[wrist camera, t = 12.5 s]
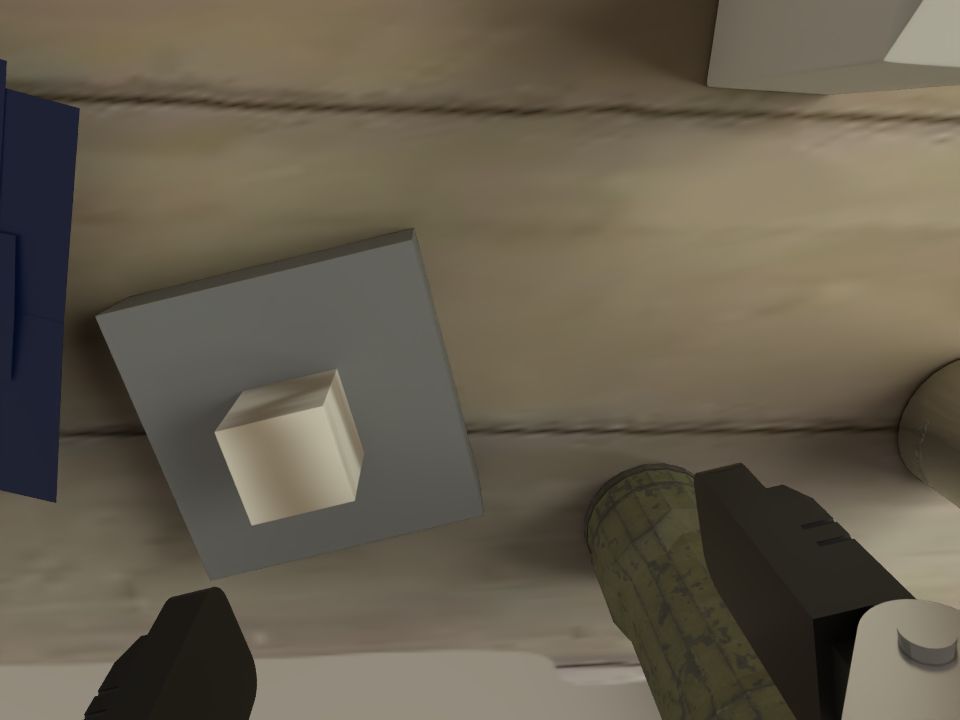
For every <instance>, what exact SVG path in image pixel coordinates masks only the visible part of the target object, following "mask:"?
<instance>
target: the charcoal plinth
mask: <svg viewBox="0 0 960 720" xmlns="http://www.w3.org/2000/svg"><path fill="white" fill-rule="evenodd" d="M95 317H96V320H97V322H98V324H99V326H100V329H101V331H102V333H103V336H104V338H105V340H106V342H107V345H108V347H109V349H110V352H111V354H112V356H113V359H114V361H115V363H116V365H117V368H118V370H119V372H120V375H121V377H122V379H123V381H124V384H125V386H126V388H127V391H128V393H129V395H130V398H131V400H132V402H133V404H134V407H135V409H136V411H137V414H138V416H139V418H140V420H141V423H142V425H143V427H144V430H145V432H146V434H147V437H148V439H149V441H150V443H151V446H152V448H153V450H154V453H155V455H156V457H157V459H158V462H159V464H160V466H161V469H162V471H163V473H164V475H165V478H166V480H167V482H168V485H169V487H170V489H171V492H172V494H173V496H174V498H175V501H176V503H177V505H178V508H179V510H180V512H181V514H182V517H183V519H184V521H185V524H186V526H187V528H188V531H189V533H190V535H191V537H192V540H193V542H194V544H195V547H196V549H197V551H198V553H199V556H200V558H201V560H202V563H203V565H204V567H205V569H206V572H207V574H208V576H209V579H210V581H211V580H215V579H219V578H223V577H227V576H232V575H236V574H240V573H244V572H248V571H253V570H257V569H261V568H265V567H269V566H274V565H278V564H282V563H286V562H290V561H295V560H299V559H303V558H307V557H311V556H316V555H320V554H324V553H328V552H332V551H337V550H341V549H345V548H349V547H353V546H358V545H362V544H366V543H370V542H374V541H379V540H383V539H387V538H391V537H395V536H400V535H404V534H408V533H412V532H416V531H421V530H425V529H429V528H433V527H437V526H442V525H446V524H450V523H454V522H458V521H463V520H467V519H471V518H475V517H479V516H484V509H483V502H482V495H481V488H480V481H479V477H478V473H477V469H476V466H475V462H474V458H473V454H472V450H471V446H470V442H469V439H468V435H467V431H466V427H465V423H464V419H463V415H462V412H461V408H460V404H459V400H458V396H457V392H456V388H455V385H454V381H453V377H452V373H451V369H450V365H449V362H448V358H447V354H446V350H445V346H444V342H443V338H442V335H441V331H440V327H439V323H438V319H437V315H436V311H435V308H434V304H433V300H432V296H431V292H430V288H429V284H428V281H427V277H426V273H425V269H424V265H423V261H422V257H421V254H420V250H419V246H418V242H417V238H416V234H415V231H414V228H412V229H408V230H404V231H400V232H396V233H391V234H387V235H383V236H379V237H375V238H371V239H367V240H362V241H358V242H354V243H350V244H346V245H342V246H338V247H333V248H329V249H325V250H321V251H317V252H313V253H309V254H304V255H300V256H296V257H292V258H288V259H284V260H280V261H275V262H271V263H267V264H263V265H259V266H255V267H251V268H247V269H242V270H238V271H234V272H230V273H226V274H222V275H218V276H213V277H209V278H205V279H201V280H197V281H193V282H189V283H184V284H180V285H176V286H172V287H168V288H164V289H160V290H155V291H151V292H147V293H143V294H139V295H135V296H131V297H128V298H126V299H124V300H123V301H121V302H119V303H117V304H116V305H114V306H112V307H110V308H109V309H107V310H105V311H103V312H102V313H100V314H98V315H96V316H95ZM333 369H337V370H338V373H339V376H340V379H341V383H342V386H343V389H344V392H345V395H346V398H347V401H348V404H349V407H350V410H351V414H352V417H353V420H354V423H355V426H356V429H357V432H358V435H359V438H360V442H361V445H362V448H363V451H364V456H363V461H362V466H361V471H360V476H359V481H358V487H357V492H356V497H355V501H352V502H348V503H344V504H340V505H336V506H331V507H327V508H323V509H319V510H315V511H311V512H306V513H302V514H298V515H294V516H290V517H286V518H281V519H277V520H273V521H269V522H265V523H261V524H256V525H251V523H250V520H249V518H248V515H247V513H246V510H245V508H244V505H243V503H242V500H241V498H240V495H239V493H238V490H237V488H236V485H235V483H234V480H233V478H232V475H231V473H230V470H229V468H228V465H227V463H226V460H225V458H224V455H223V453H222V450H221V448H220V445H219V443H218V440H217V438H216V435H215V433H214V432H215V430H216V429H217V428H218V426H219V425H220V423H221V422H222V420H223V419H224V418H225V416H226V415H227V413H228V412H229V410H230V409H231V408H232V406H233V405H234V403H235V402H236V400H237V399H238V398H239V396H240V395H241V393H242V392H243V391H246V390H250V389H254V388H258V387H262V386H266V385H271V384H275V383H279V382H283V381H287V380H291V379H295V378H300V377H304V376H308V375H312V374H316V373H320V372H324V371H328V370H333Z"/></svg>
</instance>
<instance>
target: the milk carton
mask: <svg viewBox="0 0 960 720" xmlns="http://www.w3.org/2000/svg"><path fill="white" fill-rule="evenodd" d="M953 85H960V0H719V5H718V12H717V18H716V25H715V32H714V38H713V45H712V52H711V58H710V65H709V72H708V78H707V86H709V87H718V88H732V89H747V90H763V91H778V92H793V93H809V94H825V95H834V94H848V93H861V92H874V91H887V90H900V89H913V88H927V87H940V86H953Z"/></svg>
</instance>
